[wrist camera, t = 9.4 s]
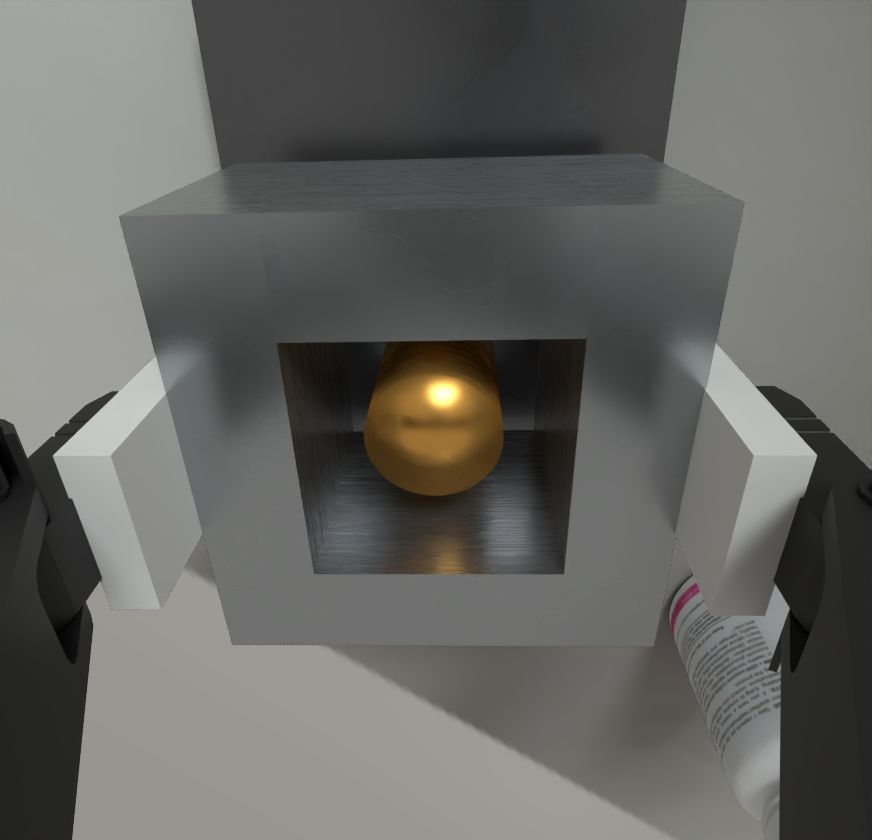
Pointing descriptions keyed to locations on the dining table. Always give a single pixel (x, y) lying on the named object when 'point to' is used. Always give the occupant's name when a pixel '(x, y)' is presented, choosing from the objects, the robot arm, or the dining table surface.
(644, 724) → the dining table surface
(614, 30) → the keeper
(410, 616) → the grey square socket block
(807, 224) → the dining table surface
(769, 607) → the pill bottle
